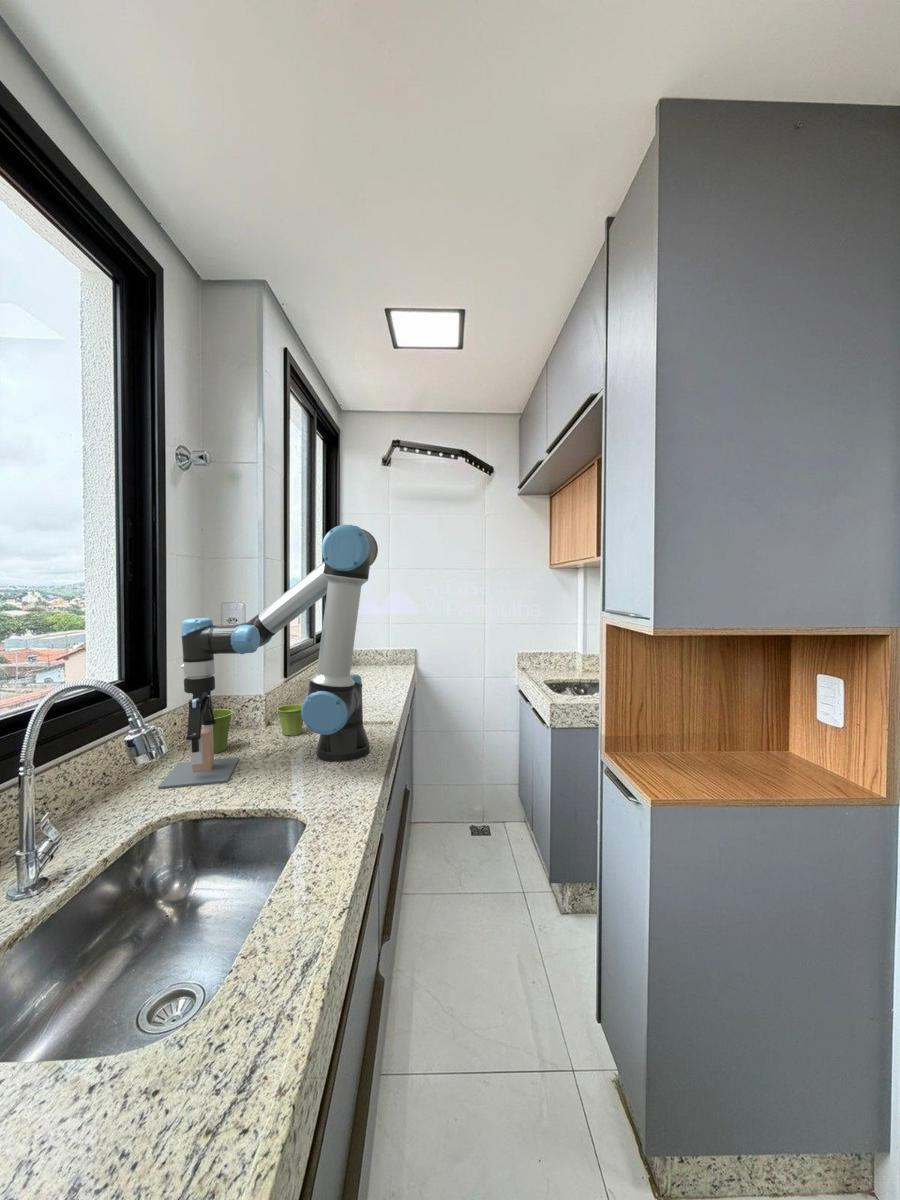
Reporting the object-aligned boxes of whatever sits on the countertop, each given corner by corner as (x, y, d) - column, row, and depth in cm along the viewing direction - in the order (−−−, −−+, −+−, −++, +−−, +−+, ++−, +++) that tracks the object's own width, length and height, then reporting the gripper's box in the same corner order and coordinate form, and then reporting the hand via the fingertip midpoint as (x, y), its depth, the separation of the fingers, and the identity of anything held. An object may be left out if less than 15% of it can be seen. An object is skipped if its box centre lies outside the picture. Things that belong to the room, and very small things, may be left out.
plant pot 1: (182, 756, 160) (181, 718, 159) (207, 744, 171) (206, 708, 171) (219, 758, 157) (218, 719, 157) (242, 745, 169) (241, 709, 169)
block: (214, 764, 150) (212, 728, 149) (210, 770, 145) (209, 733, 145) (196, 766, 149) (194, 730, 148) (192, 772, 144) (190, 734, 144)
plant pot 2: (299, 728, 187) (298, 702, 187) (312, 733, 180) (311, 707, 180) (273, 733, 181) (272, 707, 181) (284, 739, 174) (283, 712, 174)
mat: (239, 759, 156) (239, 757, 155) (227, 782, 138) (227, 780, 138) (178, 765, 152) (178, 762, 152) (158, 789, 135) (158, 786, 135)
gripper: (195, 669, 157) (198, 743, 158) (170, 686, 133) (174, 772, 134) (223, 668, 159) (226, 741, 160) (203, 684, 135) (207, 769, 136)
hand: (202, 755), depth 147 cm, fingers open, 12 cm apart
